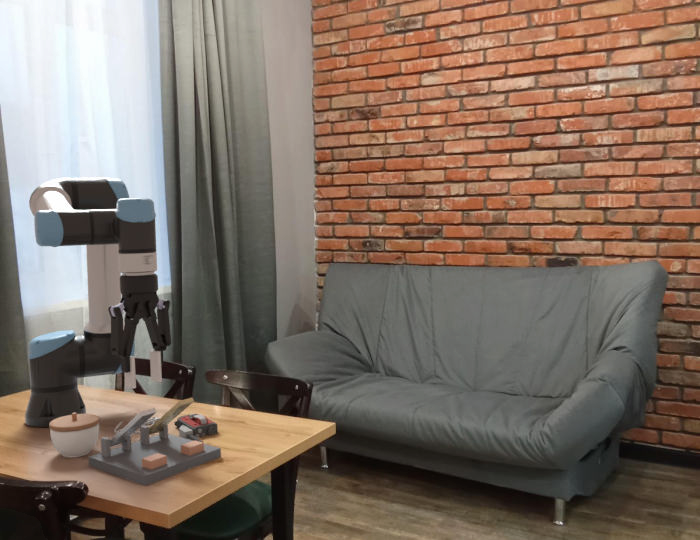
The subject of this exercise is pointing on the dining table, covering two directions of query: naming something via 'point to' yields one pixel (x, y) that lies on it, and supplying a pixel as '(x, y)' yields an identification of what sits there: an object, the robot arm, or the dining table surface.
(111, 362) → the robot arm
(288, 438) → the dining table surface
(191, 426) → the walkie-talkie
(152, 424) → the crossbow
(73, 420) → the lidded jar
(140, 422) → the steel strap
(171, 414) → the brass strap
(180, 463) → the mount plate
